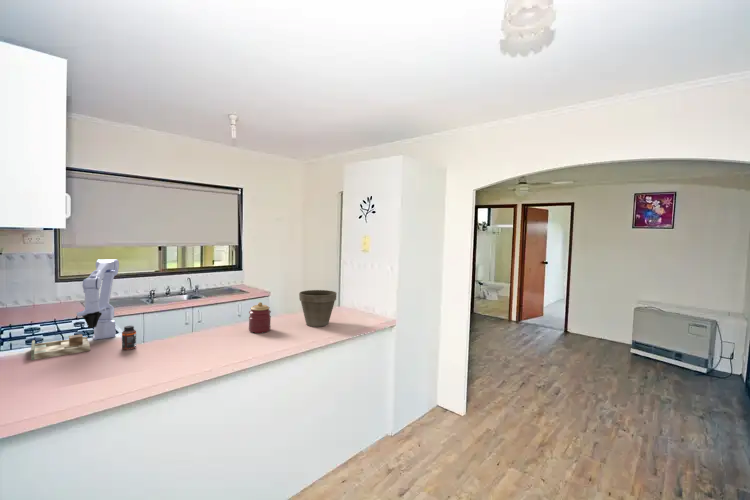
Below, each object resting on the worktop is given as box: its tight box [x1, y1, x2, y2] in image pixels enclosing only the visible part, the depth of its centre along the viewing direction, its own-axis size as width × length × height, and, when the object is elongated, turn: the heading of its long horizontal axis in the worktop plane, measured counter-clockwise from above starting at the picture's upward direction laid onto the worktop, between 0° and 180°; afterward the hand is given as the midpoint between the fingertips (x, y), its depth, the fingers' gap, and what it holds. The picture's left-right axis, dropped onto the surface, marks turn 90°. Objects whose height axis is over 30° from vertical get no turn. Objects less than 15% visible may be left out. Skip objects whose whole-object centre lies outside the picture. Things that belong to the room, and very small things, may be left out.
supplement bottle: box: [121, 325, 137, 351], centre depth 181 cm, size 6×6×11 cm
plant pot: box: [298, 289, 337, 328], centre depth 239 cm, size 25×25×22 cm
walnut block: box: [68, 333, 84, 346], centre depth 179 cm, size 5×5×4 cm
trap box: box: [30, 336, 91, 361], centre depth 175 cm, size 21×18×4 cm
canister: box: [248, 301, 272, 334], centre depth 219 cm, size 13×13×18 cm
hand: (92, 327), depth 183 cm, fingers closed
